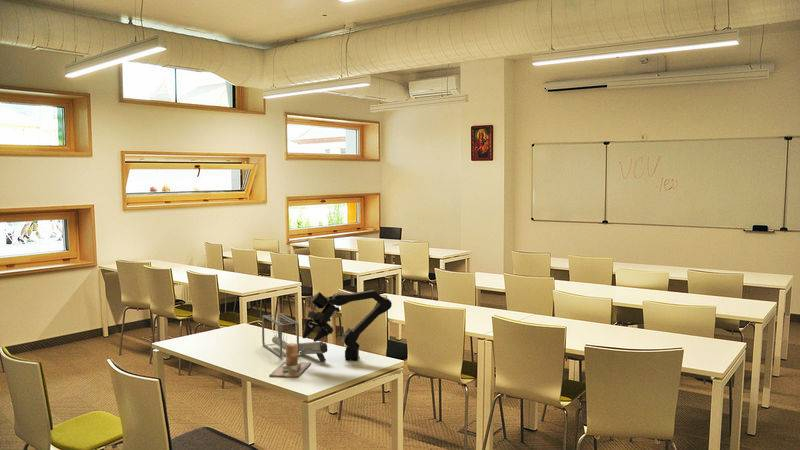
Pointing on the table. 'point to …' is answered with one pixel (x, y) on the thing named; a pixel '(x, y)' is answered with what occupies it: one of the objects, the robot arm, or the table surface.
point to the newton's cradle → (279, 333)
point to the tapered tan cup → (291, 354)
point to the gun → (314, 349)
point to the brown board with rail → (290, 370)
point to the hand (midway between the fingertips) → (308, 339)
